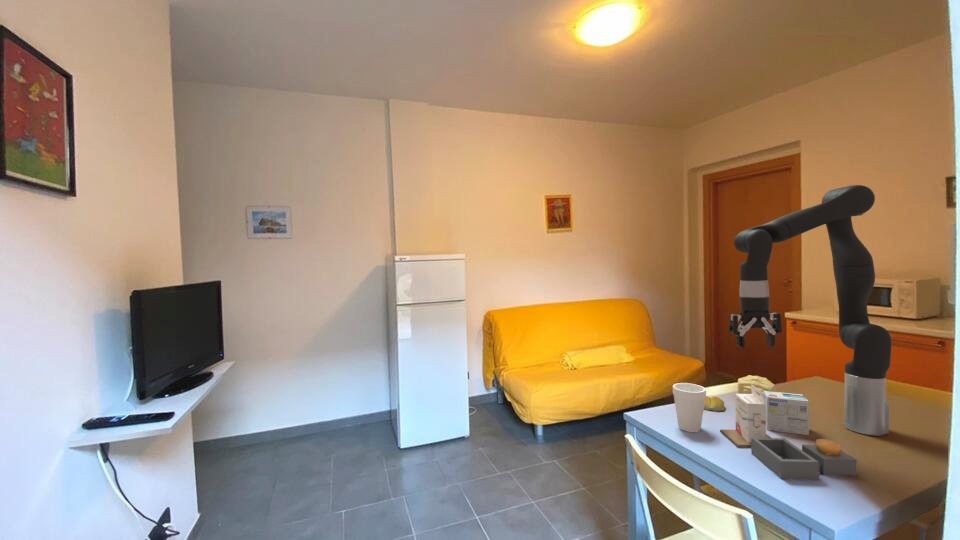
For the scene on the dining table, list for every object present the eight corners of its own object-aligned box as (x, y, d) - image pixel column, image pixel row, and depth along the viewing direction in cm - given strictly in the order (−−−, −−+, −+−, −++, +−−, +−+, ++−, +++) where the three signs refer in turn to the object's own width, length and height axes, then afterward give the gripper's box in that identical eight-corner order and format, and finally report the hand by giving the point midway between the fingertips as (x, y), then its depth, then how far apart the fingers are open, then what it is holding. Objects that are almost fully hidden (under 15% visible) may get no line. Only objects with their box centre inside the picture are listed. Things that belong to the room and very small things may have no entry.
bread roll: (696, 401, 152) (696, 391, 151) (724, 406, 147) (724, 395, 147) (695, 409, 145) (695, 398, 144) (724, 413, 140) (724, 402, 140)
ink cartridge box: (734, 430, 125) (734, 383, 124) (752, 431, 124) (752, 383, 123) (747, 443, 116) (747, 392, 116) (766, 444, 116) (766, 393, 115)
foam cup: (667, 422, 134) (667, 383, 133) (694, 420, 134) (693, 382, 134) (683, 435, 124) (683, 393, 124) (712, 433, 125) (712, 391, 124)
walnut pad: (760, 432, 125) (760, 429, 125) (782, 448, 115) (782, 445, 115) (720, 432, 126) (720, 429, 126) (737, 447, 116) (737, 444, 116)
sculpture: (734, 405, 147) (734, 376, 146) (743, 397, 155) (743, 369, 154) (772, 414, 138) (772, 383, 138) (780, 404, 146) (780, 375, 146)
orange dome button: (830, 459, 106) (830, 438, 106) (845, 469, 102) (845, 447, 101) (811, 459, 107) (811, 438, 107) (825, 469, 102) (825, 447, 102)
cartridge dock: (825, 455, 110) (825, 438, 110) (864, 480, 98) (865, 462, 97) (751, 453, 112) (751, 437, 112) (781, 479, 99) (781, 461, 99)
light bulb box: (803, 427, 128) (803, 393, 127) (809, 436, 121) (810, 400, 121) (762, 422, 132) (762, 389, 132) (767, 430, 126) (767, 396, 126)
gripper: (770, 292, 127) (771, 343, 128) (723, 294, 128) (725, 345, 129) (786, 295, 120) (788, 349, 120) (737, 297, 121) (738, 351, 121)
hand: (755, 347), depth 124 cm, fingers open, 8 cm apart
